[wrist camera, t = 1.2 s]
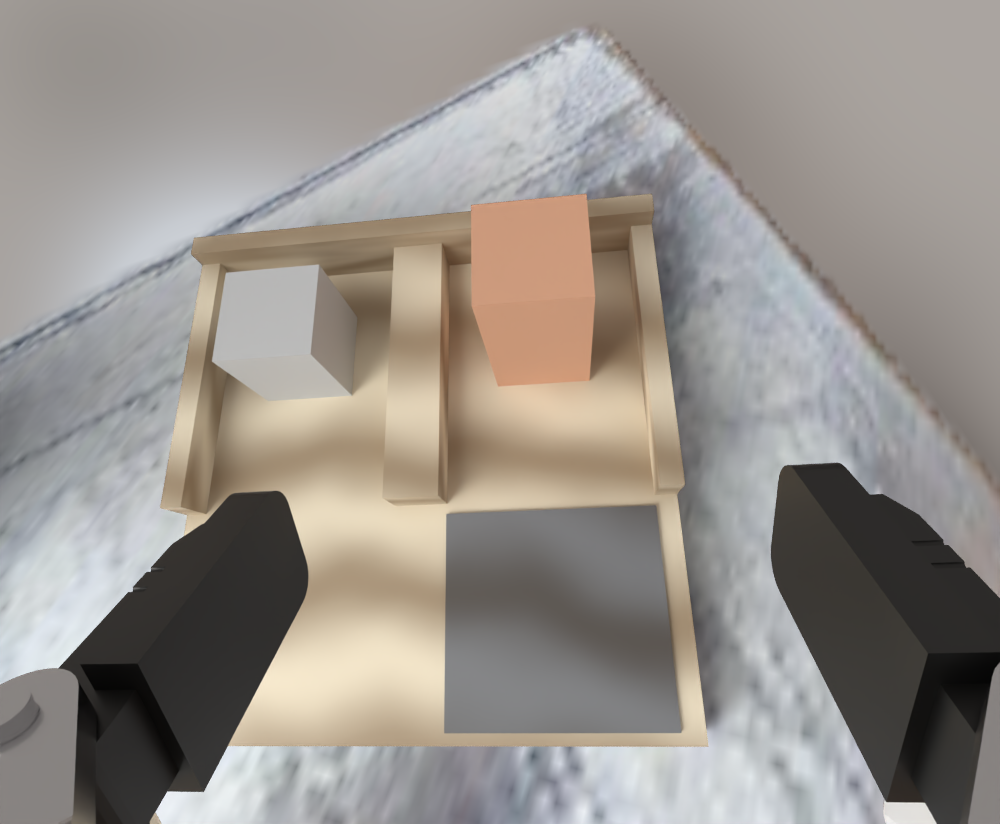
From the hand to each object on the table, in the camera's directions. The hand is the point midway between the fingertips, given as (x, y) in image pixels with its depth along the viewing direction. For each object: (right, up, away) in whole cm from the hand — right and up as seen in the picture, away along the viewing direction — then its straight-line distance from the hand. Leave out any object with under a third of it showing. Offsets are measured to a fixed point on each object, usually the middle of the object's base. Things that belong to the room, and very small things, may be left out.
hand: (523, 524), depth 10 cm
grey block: (-10, +5, +21) cm, 24 cm away
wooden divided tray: (-4, -1, +20) cm, 21 cm away
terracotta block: (+2, +5, +20) cm, 21 cm away
